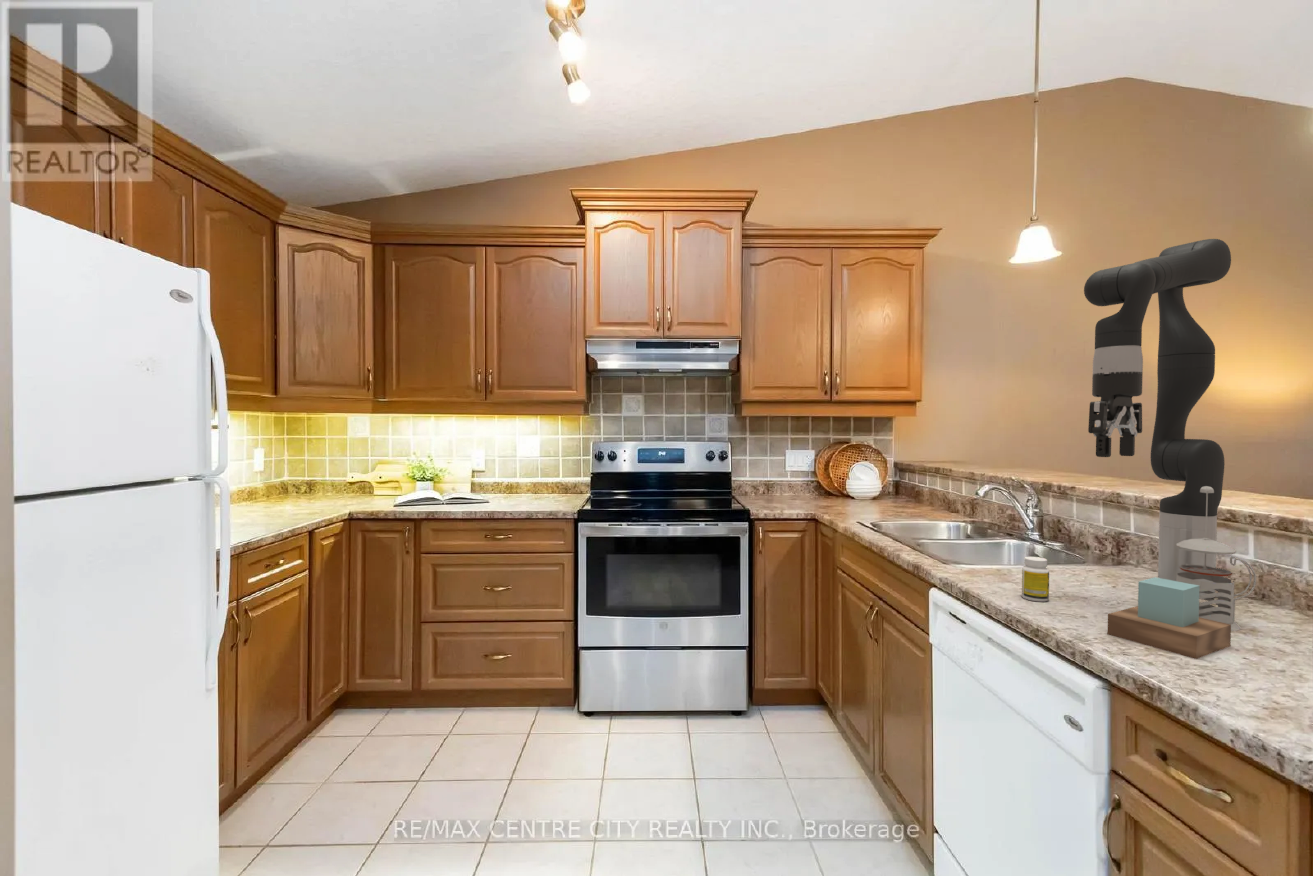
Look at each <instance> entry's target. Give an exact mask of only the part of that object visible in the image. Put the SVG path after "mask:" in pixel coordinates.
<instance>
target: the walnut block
mask: <svg viewBox="0 0 1313 876" xmlns="http://www.w3.org/2000/svg"><path fill="white" fill-rule="evenodd" d="M1106 631H1107V633H1106V634H1107V635H1109V636H1113V637H1116V638H1118V639H1119V638H1120V639H1123V640H1127V641H1130V642H1135V643H1138V644H1141V645H1144V646H1149V647H1152V648H1156V649H1158V650H1161V651H1162V650H1163V651H1167V652H1169V653H1174V654H1177V655H1180V656H1184V657H1187V658H1191V659H1194V660H1197V659H1200V658H1203V657H1205V656H1208V655H1210V654H1214V653H1217V652H1218V651H1221V650H1223V649H1227V648H1229V647H1231V645H1232V644H1231V642H1232V641H1231V640H1232V639H1231V638H1232V631H1231V624H1226V623H1222V622H1217V621H1213V620H1209V619H1204V618H1200V617H1199V622H1196V623H1193V624H1190V625H1188V626H1185V627H1179V626H1175V625H1171V624H1166V623H1162V622H1158V621H1154V620H1150V619H1146V618H1141V617H1138V605H1136V606H1132V607H1128V608H1125V609H1121V610H1117V611H1114V612H1109V613H1107V630H1106Z"/></svg>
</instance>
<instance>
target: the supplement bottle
mask: <svg viewBox="0 0 1313 876" xmlns="http://www.w3.org/2000/svg"><path fill="white" fill-rule="evenodd" d="M1023 560H1024V562H1023V563H1024V564H1023V565H1024V566H1022V567H1021V568H1022V569H1021V571H1022V572H1021V597H1022V598H1023V599H1026V600H1028V601H1032V602H1040V603H1044V602H1048V601H1049V598H1050V570H1049V569H1048V568H1047V567H1048V559H1046V558H1044V557H1038V556H1025V557H1024V559H1023Z"/></svg>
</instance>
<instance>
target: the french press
mask: <svg viewBox="0 0 1313 876" xmlns="http://www.w3.org/2000/svg"><path fill="white" fill-rule="evenodd" d="M1200 492H1202V493H1206V529H1205V538H1202V539H1189V540H1184V541H1182V542H1179V543H1177V544H1176V545H1177V547H1178V548H1180V549H1183V550H1187V551H1192V552H1199V553H1205V566H1202V565H1201V566H1200V565H1193V564H1192V565H1191V564H1190V565H1189V564H1187V565H1180V566H1179V567H1180V569H1181V570H1184V571H1186V572H1180V573H1177V579H1176V581H1178V582H1183V583H1188V584H1194V585H1199V593H1206V595H1201V596H1199V600H1204V601H1201V602H1200V601H1199V617H1200V618H1204V619H1209V620H1213V621H1217V622H1222V623H1226V624H1231V632H1235V631H1240V630H1242V628H1241V626H1240V625H1239V624H1238V623H1237V622H1236V621H1235V618H1236V617H1235V615H1236V614H1235V613H1236V611H1235V610H1236V601H1237V600H1239V599H1242V598H1247V596H1249V595H1250V594H1252V592H1253V591H1254V590H1255V587H1256V585H1257V574H1256V572H1255V570H1254V569H1253V567H1252V566H1251V564H1249V563H1248V562H1247V561H1245V560H1243V559H1242V558H1239V557H1236V556H1231V557H1229V563H1230V565H1231V566H1233V567H1234V566H1235V567H1236V564H1237V561H1240V562H1241V563H1242V564H1244V565H1245V566H1246V569H1247V571H1248V574H1249V581H1248V584H1247V586H1246V587H1245V589H1244V590H1242V591H1241V592H1238V593H1235V581H1234V580H1233V581H1232V579H1230V578H1227V577H1229V576H1232V575H1233V572H1232V571H1231V570H1227V569H1226V568H1220V567H1217V566H1216V567H1215V568H1214V567H1213V568H1212V567H1209V566H1208V567H1207V566H1206V553H1207V554H1216V555H1224V556H1225V555H1227V556H1228V555H1235V554H1236V553H1237V550H1236V549H1234V548H1233V547H1232V546H1230V545H1228V544H1226V543H1223V542H1220V541H1214V540H1210V539H1208V538H1207V506H1208V493H1214V490H1213V488H1212V487H1208V486H1204V487H1202V488H1201V489H1200ZM1233 559H1234V560H1233ZM1251 571H1252V572H1251ZM1252 574H1253V576H1252ZM1194 579H1206V580H1209V581H1212V582H1214V583H1212V582H1204V581H1198V580H1194ZM1252 579H1253V583H1252ZM1251 584H1252V587H1251V589H1250V591H1249V592H1248V593H1246V592H1247V591H1248V589H1249V588H1250V586H1251ZM1213 589H1214V590H1215V593H1214V592H1211V591H1208V590H1213ZM1244 593H1246V594H1245V595H1243V594H1244ZM1241 595H1242V596H1241ZM1210 597H1213V598H1210ZM1214 598H1216V599H1214ZM1214 605H1216V606H1214Z"/></svg>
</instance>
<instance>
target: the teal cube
mask: <svg viewBox="0 0 1313 876" xmlns="http://www.w3.org/2000/svg"><path fill="white" fill-rule="evenodd" d="M1137 585H1138V587H1137V588H1138V590H1137V591H1138V593H1137V597H1138V598H1137V606H1138V617H1141V618H1146V619H1150V620H1154V621H1158V622H1162V623H1166V624H1171V625H1175V626H1179V627H1185V626H1188V625H1190V624H1193V623H1196V622H1199V602H1200V599H1199V585H1194V584H1188V583H1183V582H1178V581H1172V580H1167V579H1162V578H1158V577H1156V576H1154V577H1151V578H1147V579H1143V580H1139V581H1138V584H1137Z"/></svg>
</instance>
